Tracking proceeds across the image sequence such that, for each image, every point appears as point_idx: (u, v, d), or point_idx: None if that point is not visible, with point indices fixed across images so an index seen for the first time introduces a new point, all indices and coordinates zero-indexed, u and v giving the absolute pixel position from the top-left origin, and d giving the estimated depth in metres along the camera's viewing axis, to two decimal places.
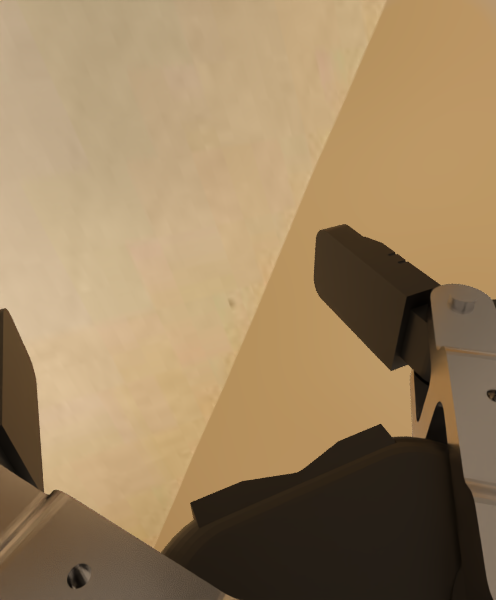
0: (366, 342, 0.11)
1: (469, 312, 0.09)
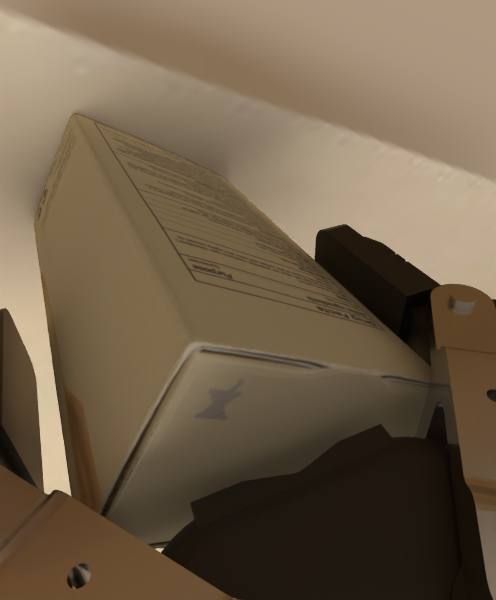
0: None
1: (469, 312, 0.09)
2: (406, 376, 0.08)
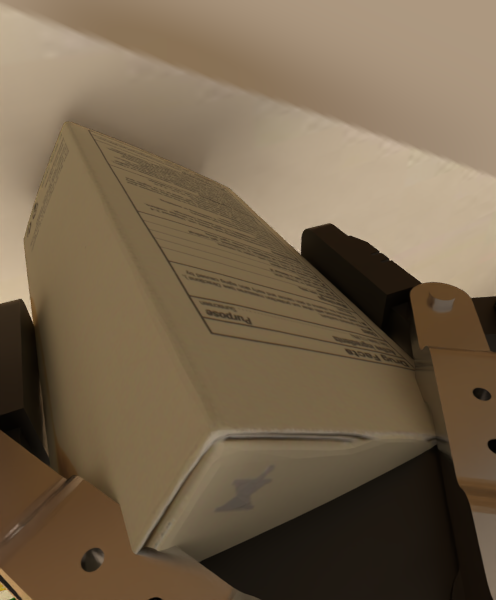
0: None
1: (447, 310, 0.09)
2: None
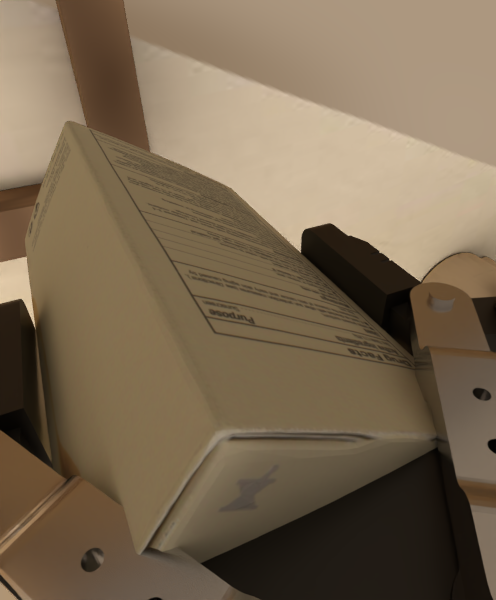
0: None
1: (447, 310, 0.09)
2: None
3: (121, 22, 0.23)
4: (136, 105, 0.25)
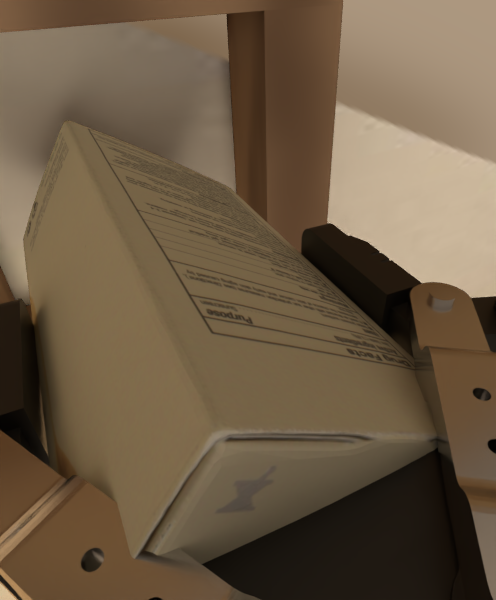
0: None
1: (447, 310, 0.09)
2: None
3: (330, 84, 0.17)
4: (323, 183, 0.20)
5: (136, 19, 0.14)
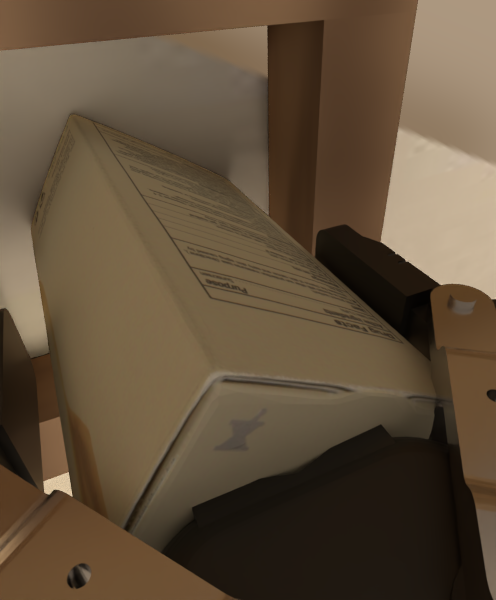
0: None
1: (469, 312, 0.09)
2: (431, 394, 0.08)
3: (394, 106, 0.14)
4: (377, 220, 0.17)
5: (168, 32, 0.11)
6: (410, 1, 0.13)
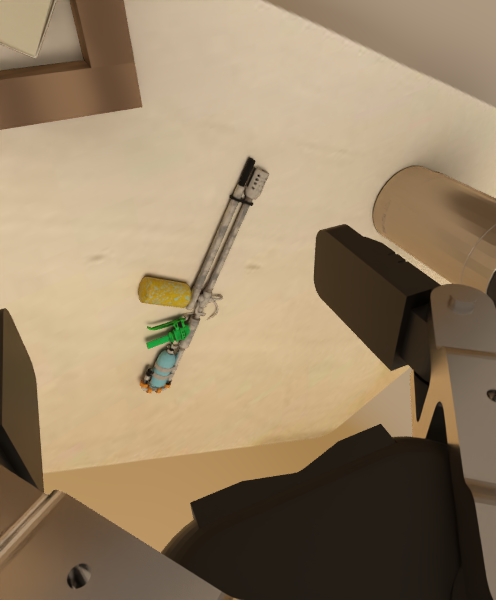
0: (366, 342, 0.11)
1: (469, 312, 0.09)
2: None
3: None
4: None
5: None
6: None
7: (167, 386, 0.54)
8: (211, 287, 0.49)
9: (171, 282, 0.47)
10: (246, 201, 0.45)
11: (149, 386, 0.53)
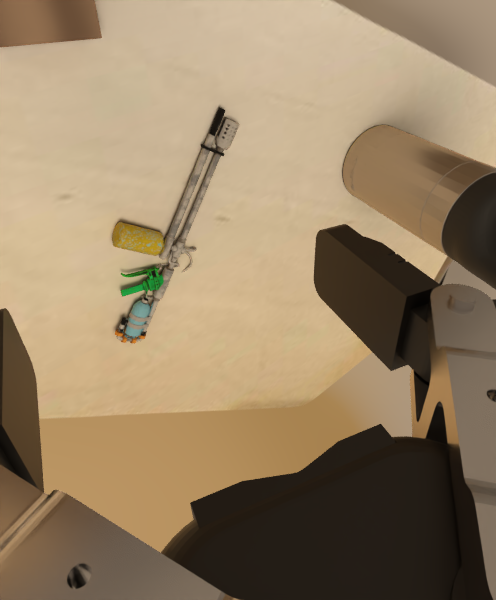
0: (366, 342, 0.11)
1: (469, 312, 0.09)
2: None
3: None
4: None
5: None
6: None
7: (142, 337, 0.56)
8: (184, 237, 0.51)
9: (144, 229, 0.48)
10: (217, 151, 0.47)
11: (124, 336, 0.55)
